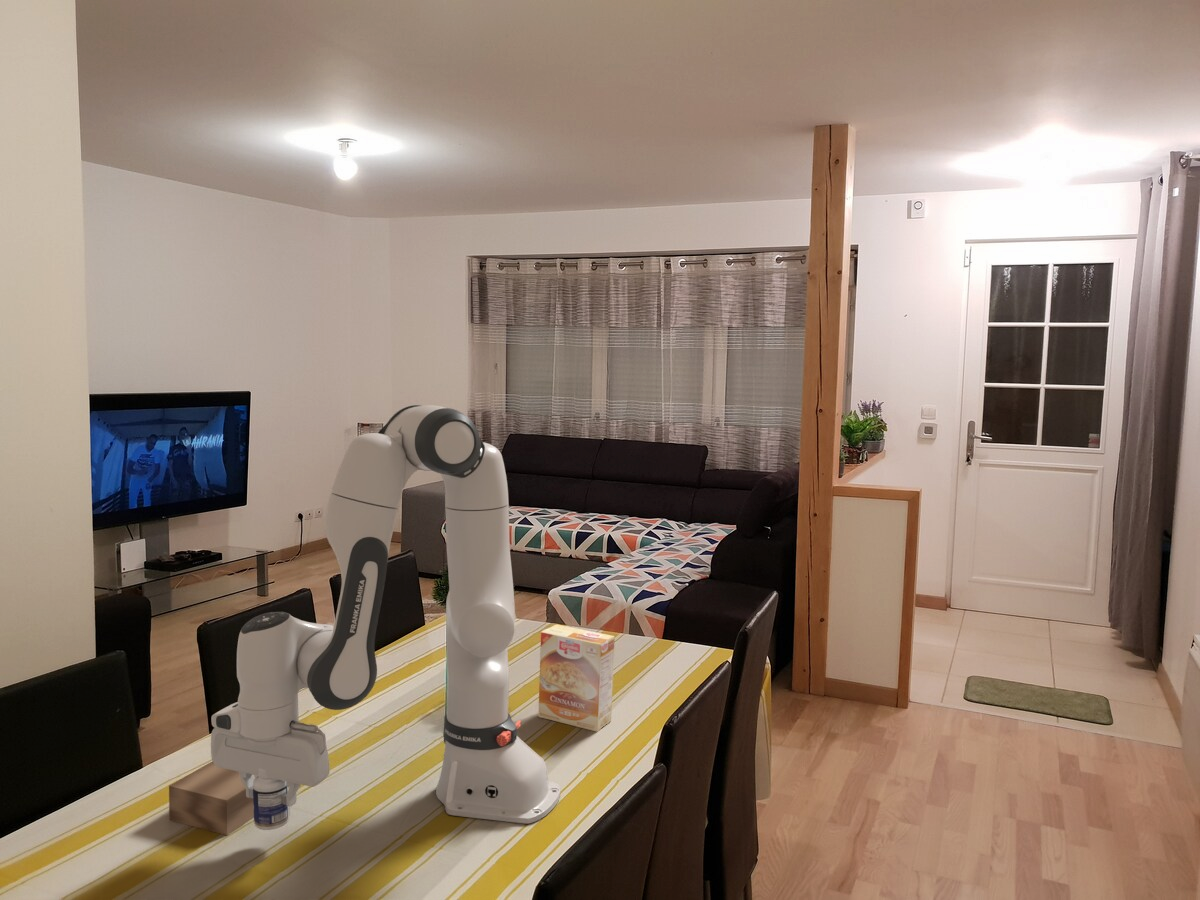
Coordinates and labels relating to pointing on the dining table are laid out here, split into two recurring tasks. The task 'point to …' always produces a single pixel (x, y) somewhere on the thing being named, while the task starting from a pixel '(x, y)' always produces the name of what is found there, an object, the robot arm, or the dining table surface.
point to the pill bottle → (269, 802)
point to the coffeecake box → (576, 677)
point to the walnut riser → (211, 800)
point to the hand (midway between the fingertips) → (271, 800)
